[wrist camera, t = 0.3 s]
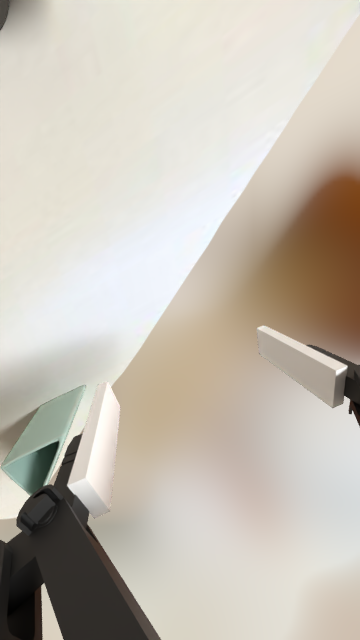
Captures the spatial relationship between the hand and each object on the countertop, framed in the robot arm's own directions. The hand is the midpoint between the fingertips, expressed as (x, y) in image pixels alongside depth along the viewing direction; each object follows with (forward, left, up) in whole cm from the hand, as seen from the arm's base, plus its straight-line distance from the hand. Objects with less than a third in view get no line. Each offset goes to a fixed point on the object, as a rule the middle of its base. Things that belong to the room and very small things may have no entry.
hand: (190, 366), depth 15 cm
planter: (+18, -30, -28) cm, 45 cm away
